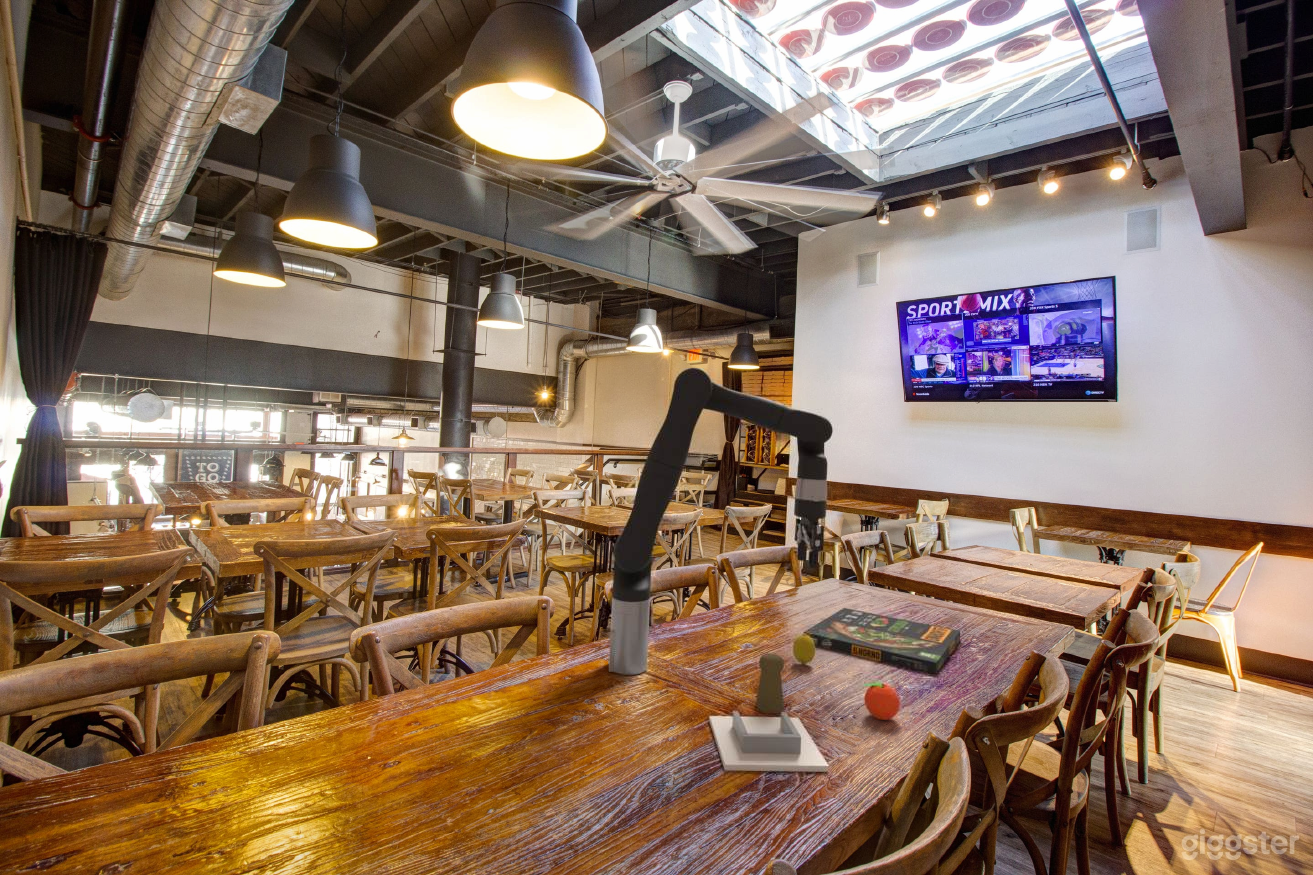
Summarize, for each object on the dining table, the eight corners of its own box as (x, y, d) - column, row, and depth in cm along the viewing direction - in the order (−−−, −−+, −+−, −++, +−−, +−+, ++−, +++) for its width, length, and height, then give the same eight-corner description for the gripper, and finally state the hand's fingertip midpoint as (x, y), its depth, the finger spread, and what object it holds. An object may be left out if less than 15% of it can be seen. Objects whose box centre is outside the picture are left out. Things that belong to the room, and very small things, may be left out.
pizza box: (843, 618, 200) (844, 607, 200) (959, 642, 179) (960, 630, 179) (803, 644, 171) (803, 631, 171) (935, 676, 151) (936, 662, 151)
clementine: (857, 720, 123) (858, 685, 123) (859, 706, 130) (860, 674, 130) (899, 728, 120) (900, 693, 120) (899, 714, 127) (900, 681, 127)
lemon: (810, 670, 150) (812, 638, 150) (789, 665, 152) (790, 633, 153) (817, 664, 154) (818, 633, 154) (796, 659, 157) (797, 628, 157)
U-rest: (724, 770, 102) (725, 746, 102) (709, 720, 120) (710, 700, 120) (828, 771, 103) (829, 748, 103) (797, 722, 121) (798, 702, 121)
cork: (787, 704, 129) (789, 653, 129) (780, 715, 124) (782, 662, 124) (759, 698, 132) (761, 648, 132) (751, 709, 126) (754, 656, 126)
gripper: (787, 494, 153) (783, 557, 153) (805, 499, 139) (801, 569, 138) (815, 495, 153) (812, 559, 153) (836, 501, 139) (832, 571, 139)
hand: (807, 564), depth 146 cm, fingers open, 8 cm apart
